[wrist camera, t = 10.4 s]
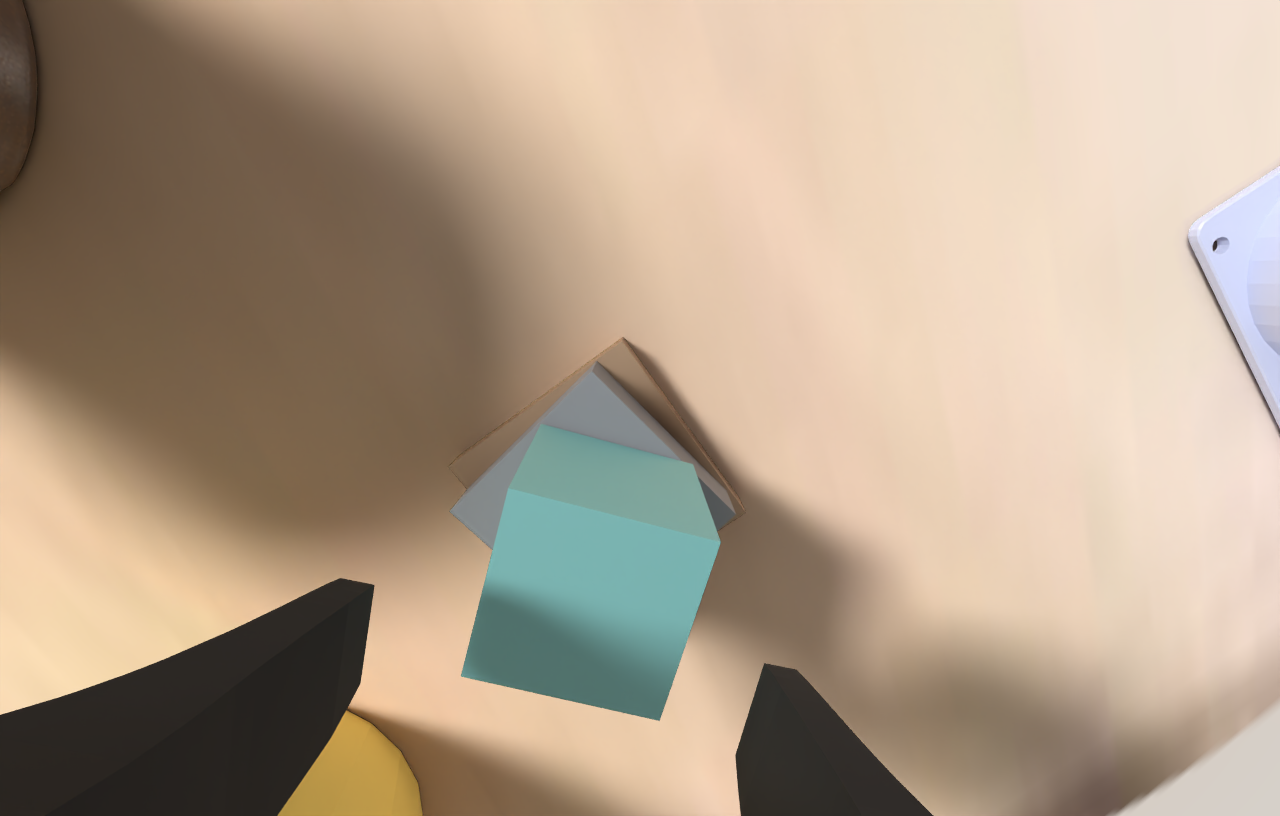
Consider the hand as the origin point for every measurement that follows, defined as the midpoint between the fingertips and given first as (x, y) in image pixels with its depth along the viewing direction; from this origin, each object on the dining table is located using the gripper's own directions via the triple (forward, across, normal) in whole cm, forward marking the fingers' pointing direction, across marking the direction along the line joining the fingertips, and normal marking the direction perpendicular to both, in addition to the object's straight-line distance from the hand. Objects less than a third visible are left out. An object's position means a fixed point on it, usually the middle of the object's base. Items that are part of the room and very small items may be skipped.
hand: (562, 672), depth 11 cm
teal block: (+7, 0, 0) cm, 7 cm away
